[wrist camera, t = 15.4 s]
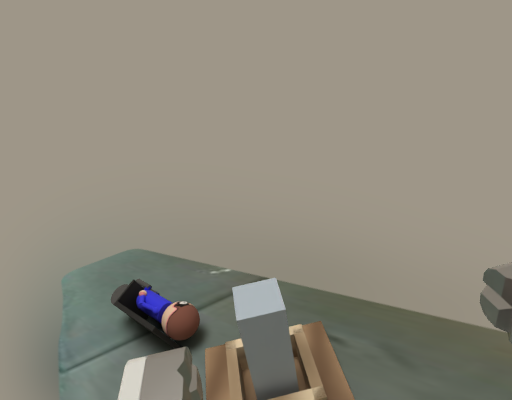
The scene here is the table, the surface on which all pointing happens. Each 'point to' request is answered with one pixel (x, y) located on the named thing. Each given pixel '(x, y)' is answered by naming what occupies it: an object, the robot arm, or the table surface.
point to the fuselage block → (266, 338)
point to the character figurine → (157, 311)
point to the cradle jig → (306, 364)
